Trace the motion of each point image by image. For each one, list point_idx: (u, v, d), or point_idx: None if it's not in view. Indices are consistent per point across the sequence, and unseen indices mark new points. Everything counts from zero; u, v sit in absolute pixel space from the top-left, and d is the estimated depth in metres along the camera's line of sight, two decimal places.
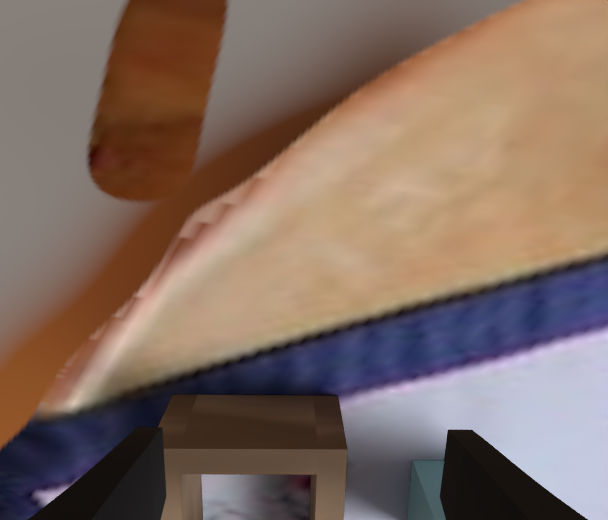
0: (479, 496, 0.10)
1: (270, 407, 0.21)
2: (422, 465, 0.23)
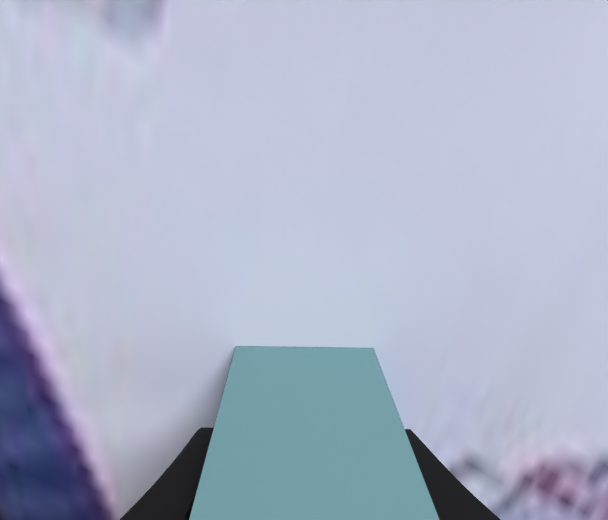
0: None
1: None
2: None
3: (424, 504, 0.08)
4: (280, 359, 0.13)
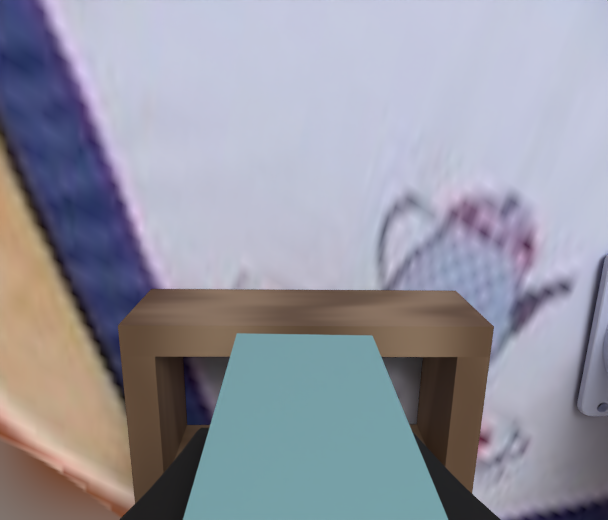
0: None
1: None
2: None
3: (421, 476, 0.08)
4: (280, 345, 0.13)
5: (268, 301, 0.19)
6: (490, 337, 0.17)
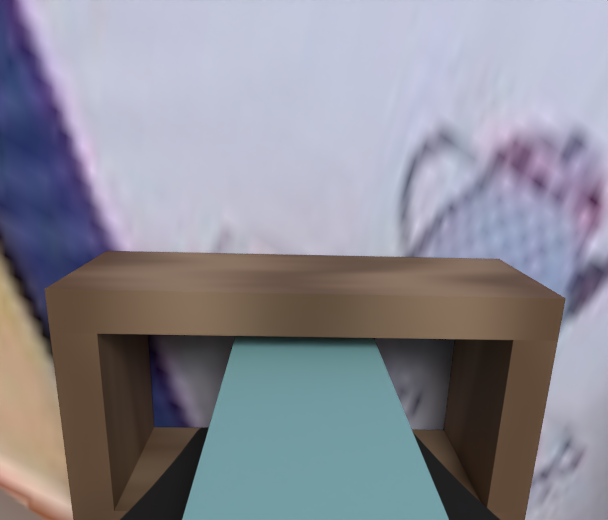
0: None
1: None
2: None
3: (421, 474, 0.08)
4: (280, 345, 0.13)
5: (256, 266, 0.14)
6: (558, 314, 0.12)
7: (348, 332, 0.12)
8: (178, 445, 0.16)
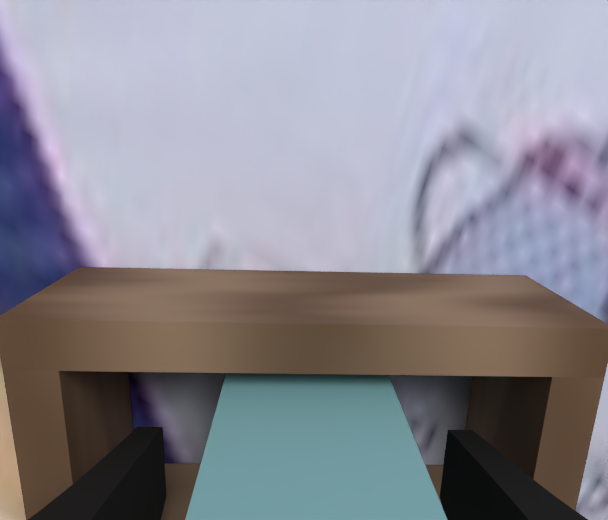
0: (479, 497, 0.10)
1: None
2: None
3: (410, 450, 0.09)
4: None
5: (250, 286, 0.12)
6: (605, 346, 0.10)
7: (357, 368, 0.10)
8: None
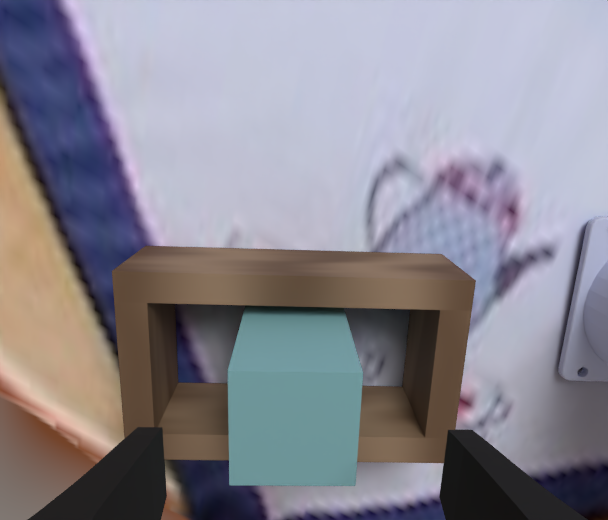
0: (479, 496, 0.10)
1: None
2: None
3: (349, 342, 0.16)
4: None
5: (259, 257, 0.19)
6: (472, 292, 0.17)
7: (323, 303, 0.17)
8: (197, 394, 0.21)
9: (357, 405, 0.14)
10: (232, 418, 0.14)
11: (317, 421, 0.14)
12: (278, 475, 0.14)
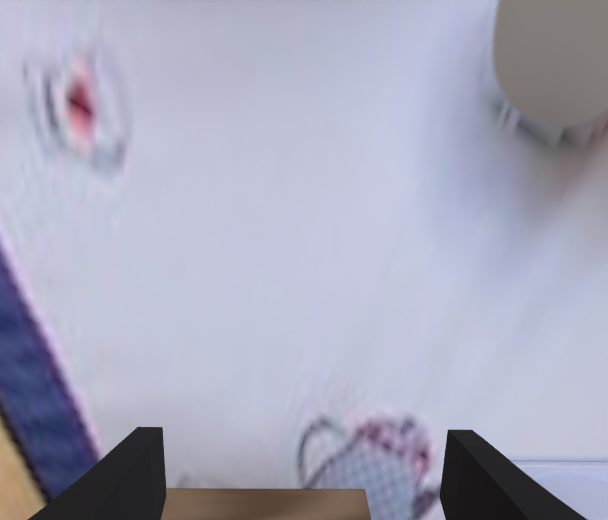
0: (479, 496, 0.10)
1: None
2: None
3: None
4: None
5: (202, 511, 0.23)
6: None
7: None
8: None
9: None
10: None
11: None
12: None
